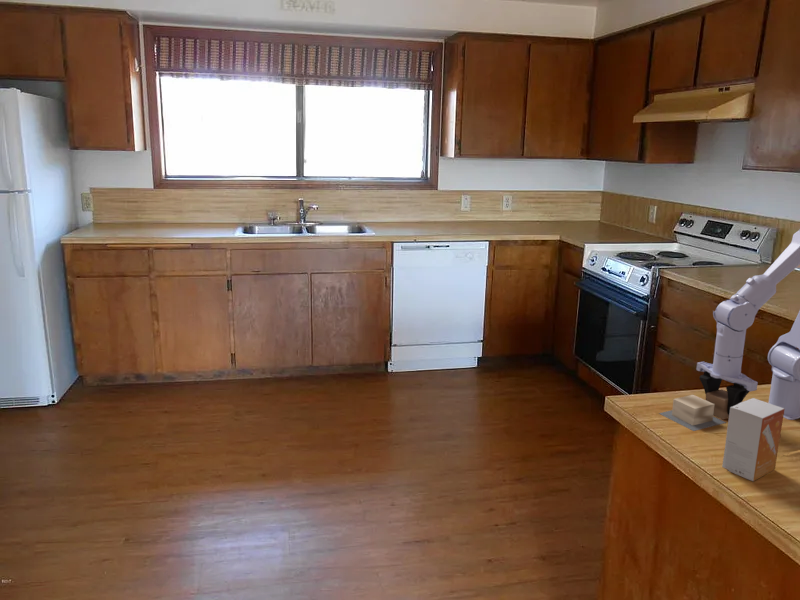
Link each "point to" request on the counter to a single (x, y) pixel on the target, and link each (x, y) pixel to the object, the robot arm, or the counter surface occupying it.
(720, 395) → the walnut block
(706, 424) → the mat
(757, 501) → the counter surface
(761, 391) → the counter surface
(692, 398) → the maple block
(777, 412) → the small box
